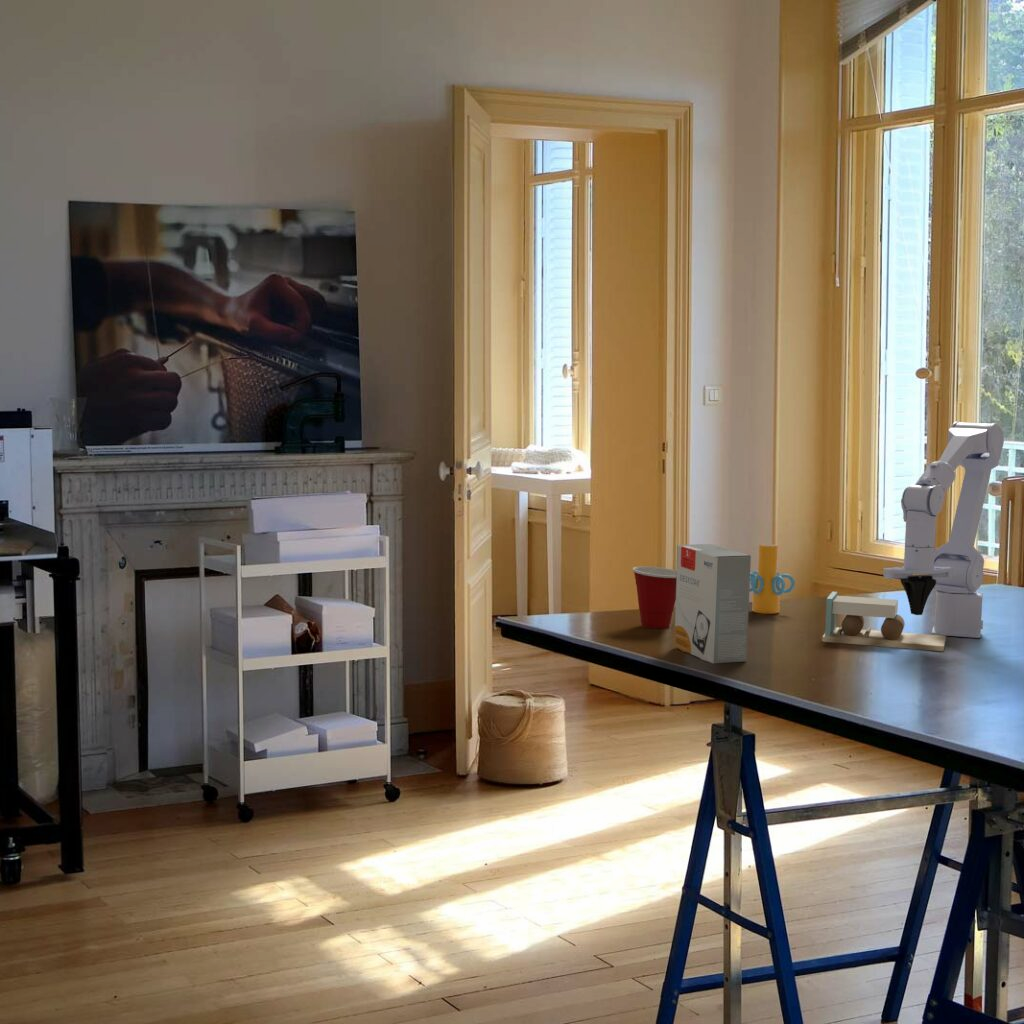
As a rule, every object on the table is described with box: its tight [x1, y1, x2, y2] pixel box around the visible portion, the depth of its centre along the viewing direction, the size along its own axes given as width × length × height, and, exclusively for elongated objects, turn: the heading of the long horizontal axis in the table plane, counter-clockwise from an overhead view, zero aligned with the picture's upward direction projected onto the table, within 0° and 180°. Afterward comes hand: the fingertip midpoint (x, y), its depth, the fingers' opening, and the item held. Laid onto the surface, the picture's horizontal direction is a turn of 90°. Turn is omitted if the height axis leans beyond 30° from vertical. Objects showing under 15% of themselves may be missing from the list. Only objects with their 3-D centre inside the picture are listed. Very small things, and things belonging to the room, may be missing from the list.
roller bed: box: [821, 591, 947, 652], centre depth 282 cm, size 23×12×8 cm, turn 71°
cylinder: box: [749, 543, 796, 615], centre depth 314 cm, size 12×10×15 cm
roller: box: [840, 615, 865, 636], centre depth 284 cm, size 4×6×4 cm
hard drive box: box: [673, 543, 752, 664], centre depth 264 cm, size 16×8×20 cm, turn 21°
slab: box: [832, 595, 899, 619], centre depth 283 cm, size 12×8×2 cm, turn 71°
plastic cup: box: [632, 565, 677, 629], centre depth 293 cm, size 11×11×12 cm
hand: (916, 614), depth 280 cm, fingers closed
